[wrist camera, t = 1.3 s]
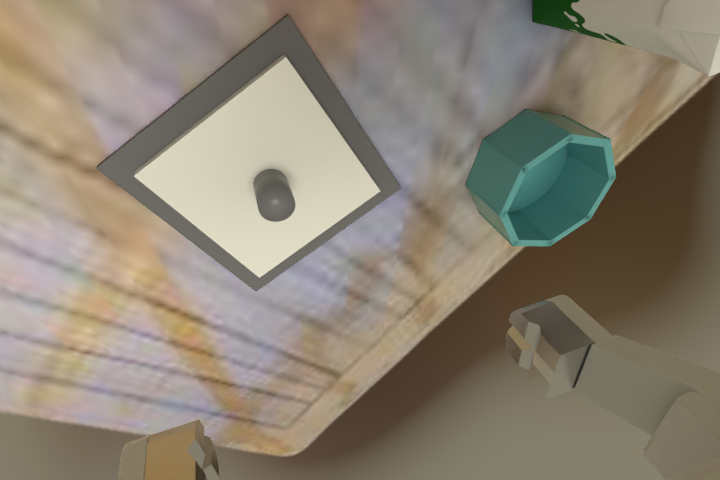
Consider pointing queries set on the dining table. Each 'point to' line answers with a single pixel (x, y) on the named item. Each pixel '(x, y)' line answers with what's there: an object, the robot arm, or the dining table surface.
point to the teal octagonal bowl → (540, 177)
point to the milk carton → (644, 26)
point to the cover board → (261, 171)
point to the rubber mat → (212, 94)
